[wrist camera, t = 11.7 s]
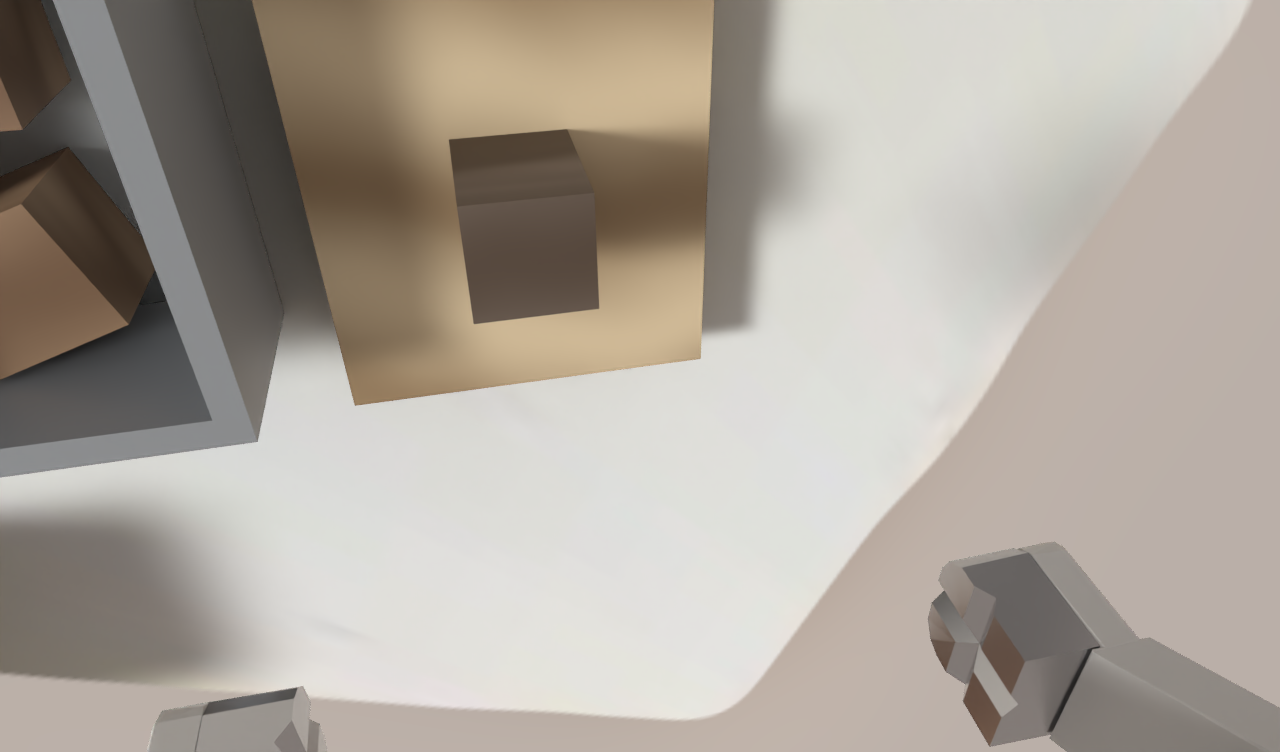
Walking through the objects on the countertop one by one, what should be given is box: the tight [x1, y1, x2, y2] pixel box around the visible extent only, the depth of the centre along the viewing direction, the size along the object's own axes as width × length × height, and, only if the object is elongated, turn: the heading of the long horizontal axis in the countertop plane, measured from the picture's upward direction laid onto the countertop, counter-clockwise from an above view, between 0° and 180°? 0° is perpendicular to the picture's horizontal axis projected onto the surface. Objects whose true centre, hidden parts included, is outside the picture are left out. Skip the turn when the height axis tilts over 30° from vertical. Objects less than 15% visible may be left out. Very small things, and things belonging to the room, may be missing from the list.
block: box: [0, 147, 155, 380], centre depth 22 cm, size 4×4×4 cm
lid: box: [252, 0, 714, 406], centre depth 22 cm, size 13×11×6 cm
